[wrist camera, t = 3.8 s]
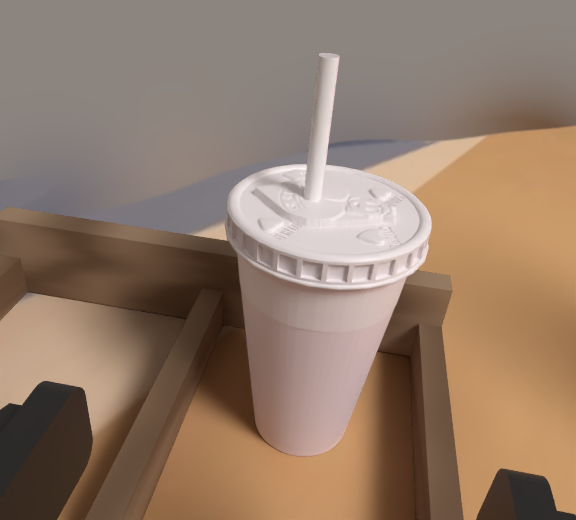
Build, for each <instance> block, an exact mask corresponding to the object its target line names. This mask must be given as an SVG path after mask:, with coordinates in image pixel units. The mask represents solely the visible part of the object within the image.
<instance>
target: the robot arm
mask: <svg viewBox="0 0 576 520" xmlns="http://www.w3.org/2000/svg"><path fill="white" fill-rule="evenodd" d="M92 443H93V437H92V431H91V425H90V419H89V413H88V407H87V401H86V395H85V391H84V390H83V388H81V387H76V386H70V385H65V384H60V383H54V382H49V381H43V382H41V383H40V384H38V385H37V386H36V388H35V389H34V390H33V391H32V393H31V394H30V395H29V397H28V398H27V399H26V401H25V402H24V403H23V405H16V404H11V403H9V404H8V405H7V406H5V407H4V408H2V409H1V410H0V520H57V519H58V517H59V515H60V513H61V511H62V510H63V508H64V506H65V504H66V502H67V501H68V499H69V497H70V495H71V493H72V492H73V490H74V488H75V486H76V484H77V483H78V481H79V479H80V477H81V475H82V474H83V472H84V470H85V468H86V466H87V464H88V461H89V458H90V454H91V450H92ZM476 520H576V516H575V514H570V513H565V512H560V511H557V510H556V506H555V503H554V499H553V495H552V491H551V488H550V485H549V483H548V481H547V479H546V478H545V477H543V476H540V475H534V474H529V473H524V472H518V471H513V470H508V469H500V470H499V471H498V472H497V474H496V476H495V478H494V480H493V483H492V485H491V487H490V489H489V491H488V493H487V496H486V498H485V500H484V502H483V504H482V507H481V509H480V511H479V513H478V516H477V519H476Z"/></svg>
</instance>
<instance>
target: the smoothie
mask: <svg viewBox="0 0 576 520" xmlns="http://www.w3.org/2000/svg"><path fill="white" fill-rule="evenodd" d="M338 63H339V56H338V55H335V54H329V53H321V54H319V58H318V67H317V76H316V86H315V95H314V104H313V113H312V123H311V132H310V142H309V151H308V160H307V164H297V165H286V166H279V167H274V168H270V169H266V170H262V171H260V172H257V173H255V174H252V175H250V176H248V177H247V178H245V179H243V180H242V181H240V182H239V183H238V184H237V185H236V186H235V187H234V188H233V189H232V190H231V192H230V194H229V197H228V201H227V220H226V222H225V229H226V235H227V240H228V241H229V243H230V244H231V245H232V247H233V248H234V250H235V251H236V253H237V255H238V267H239V279H240V285H241V294H242V303H243V313H244V322H245V332H246V341H247V350H248V360H249V369H250V379H251V388H252V397H253V407H254V416H255V424H256V427H257V430H258V432H259V433H260V435H261V436H262V438H263V439H264V440H265V441H266V442H267V443H268V444H269V445H271V446H272V447H274V448H275V449H277V450H279V451H281V452H284V453H286V454H290V455H295V456H314V455H319V454H322V453H324V452H327V451H328V450H330V449H332V448H333V447H334V446H336V445H337V444H338V443H339V441H340V440H341V439H342V437H343V435H344V433H345V430H346V428H347V425H348V423H349V420H350V418H351V415H352V413H353V410H354V408H355V405H356V403H357V400H358V398H359V395H360V393H361V390H362V388H363V385H364V383H365V380H366V378H367V375H368V373H369V370H370V368H371V365H372V363H373V360H374V358H375V355H376V353H377V350H378V348H379V345H380V343H381V340H382V338H383V335H384V333H385V331H386V328H387V326H388V323H389V321H390V318H391V316H392V313H393V311H394V308H395V306H396V304H397V302H398V299H399V296H400V294H401V291H402V288H403V286H404V283H405V280H406V278H407V276H409V275H411V274H413V273H414V272H415V271H416V270H417V269H418V268H419V267H420V266H421V265H422V264H423V263H424V261H425V259H426V255H427V251H428V248H429V246H428V240H429V236H430V232H431V226H432V222H431V217H430V214H429V212H428V210H427V209H426V207H425V206H424V205H423V203H422V202H421V201H420V200H419V199H418V198H417V197H416V196H415V195H413V194H412V193H410V192H409V191H407V190H406V189H405V188H403V187H401V186H399V185H397V184H395V183H394V182H392V181H390V180H387V179H385V178H382V177H379V176H377V175H374V174H371V173H367V172H364V171H360V170H356V169H351V168H346V167H340V166H332V165H326V158H327V150H328V142H329V135H330V126H331V118H332V111H333V103H334V95H335V86H336V79H337V71H338Z"/></svg>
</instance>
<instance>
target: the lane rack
mask: <svg viewBox="0 0 576 520" xmlns="http://www.w3.org/2000/svg"><path fill="white" fill-rule="evenodd" d="M0 253H1V255H0V320H1V319H2V318H3V317H4V316H5V315H6V314H7V313H8V312H9V311H10V310H11V309H12V307H13V306H14V305H15V304H16V303H17V302H18V301H19V300H20V299H21V298H22V297H23V296H24V295H25V294H26V293H27V292H33V293H39V294H45V295H51V296H57V297H63V298H68V299H74V300H80V301H86V302H92V303H98V304H104V305H110V306H116V307H122V308H127V309H133V310H139V311H145V312H151V313H157V314H163V315H169V316H175V317H181V318H186V321H185V323H184V325H183V327H182V329H181V331H180V333H179V335H178V337H177V339H176V341H175V343H174V345H173V347H172V349H171V351H170V353H169V355H168V357H167V359H166V361H165V363H164V365H163V367H162V369H161V371H160V373H159V375H158V377H157V379H156V381H155V382H154V384H153V386H152V388H151V390H150V392H149V394H148V396H147V398H146V400H145V402H144V404H143V406H142V408H141V410H140V412H139V414H138V416H137V418H136V420H135V422H134V424H133V426H132V428H131V430H130V432H129V434H128V436H127V438H126V440H125V442H124V444H123V446H122V448H121V449H120V451H119V453H118V455H117V457H116V459H115V461H114V463H113V465H112V467H111V469H110V471H109V473H108V475H107V477H106V479H105V481H104V483H103V485H102V487H101V489H100V491H99V493H98V495H97V497H96V499H95V501H94V503H93V505H92V507H91V509H90V511H89V513H88V515H87V516H86V518H85V520H142V519H143V516H144V514H145V511H146V509H147V507H148V504H149V502H150V499H151V497H152V495H153V492H154V490H155V487H156V485H157V482H158V480H159V478H160V475H161V473H162V470H163V468H164V466H165V463H166V461H167V458H168V456H169V453H170V451H171V449H172V446H173V444H174V441H175V439H176V437H177V434H178V432H179V429H180V427H181V424H182V422H183V420H184V417H185V415H186V412H187V410H188V407H189V405H190V403H191V400H192V398H193V395H194V393H195V391H196V388H197V386H198V383H199V381H200V378H201V376H202V374H203V371H204V369H205V366H206V364H207V362H208V359H209V357H210V354H211V352H212V349H213V347H214V345H215V342H216V340H217V337H218V335H219V333H220V330H221V328H222V325H228V326H234V327H240V328H245V322H244V313H243V303H242V294H241V285H240V279H239V267H238V255H237V253H236V251H235V250H234V248H233V247H232V245H231V244H230V243H229V241H225V240H218V239H212V238H205V237H199V236H193V235H186V234H180V233H173V232H167V231H160V230H154V229H147V228H141V227H135V226H128V225H122V224H115V223H109V222H102V221H96V220H89V219H83V218H76V217H70V216H64V215H57V214H51V213H44V212H37V211H31V210H25V209H18V208H12V207H6V208H5V209H4V210H2V211H1V212H0ZM451 294H452V286H451V279H450V275H444V274H437V273H431V272H425V271H418V270H416V271H415V272H414V273H413V274H411V275H409V276H407V278H406V280H405V283H404V286H403V288H402V291H401V294H400V296H399V299H398V302H397V304H396V306H395V308H394V311H393V313H392V316H391V318H390V321H389V323H388V326H387V328H386V331H385V333H384V335H383V338H382V340H381V343H380V345H379V348H378V350H377V351H381V352H387V353H393V354H399V355H405V356H410V371H411V398H412V426H413V453H414V481H415V508H416V520H464V519H463V511H462V502H461V493H460V484H459V476H458V467H457V458H456V450H455V441H454V432H453V423H452V415H451V406H450V397H449V388H448V380H447V371H446V362H445V353H444V345H443V336H442V324H443V320H444V317H445V314H446V310H447V307H448V304H449V300H450V297H451Z"/></svg>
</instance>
